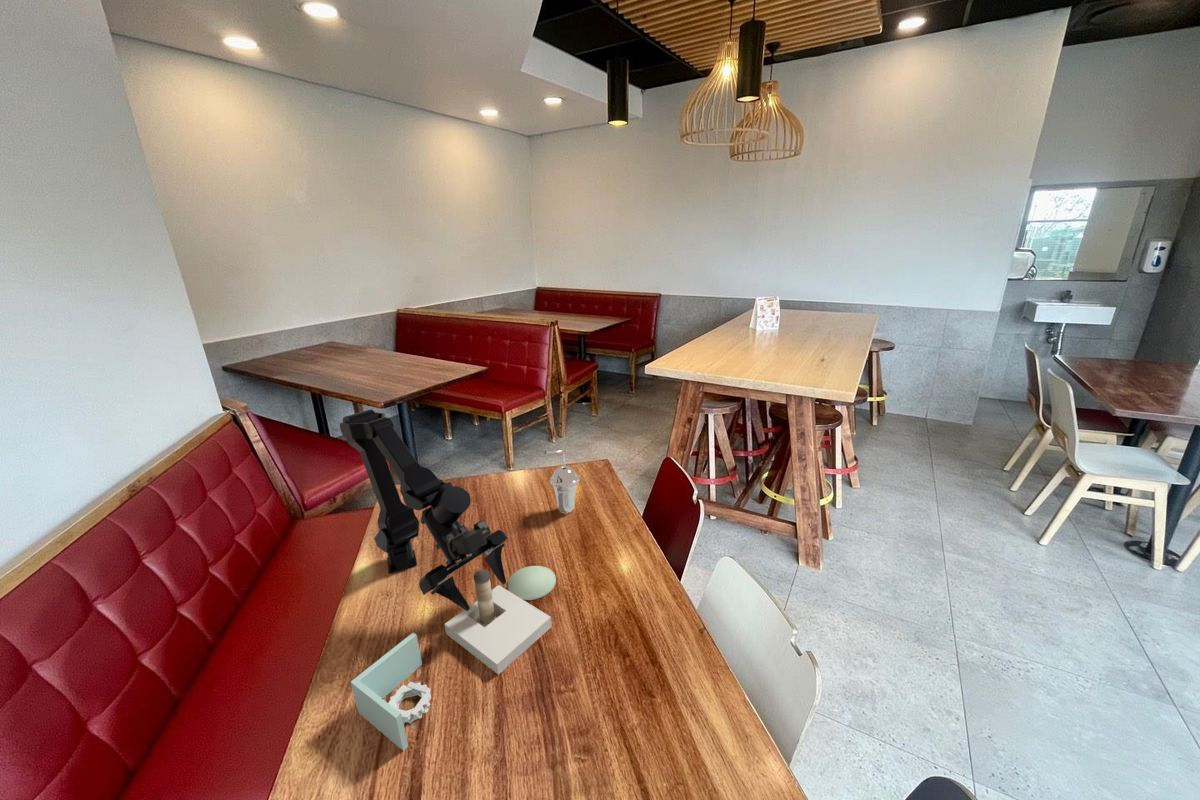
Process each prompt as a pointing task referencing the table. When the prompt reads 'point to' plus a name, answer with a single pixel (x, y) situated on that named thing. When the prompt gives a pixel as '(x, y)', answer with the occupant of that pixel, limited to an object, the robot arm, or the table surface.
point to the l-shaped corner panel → (383, 681)
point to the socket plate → (499, 630)
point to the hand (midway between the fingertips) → (487, 596)
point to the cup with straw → (564, 485)
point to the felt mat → (532, 582)
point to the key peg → (484, 598)
